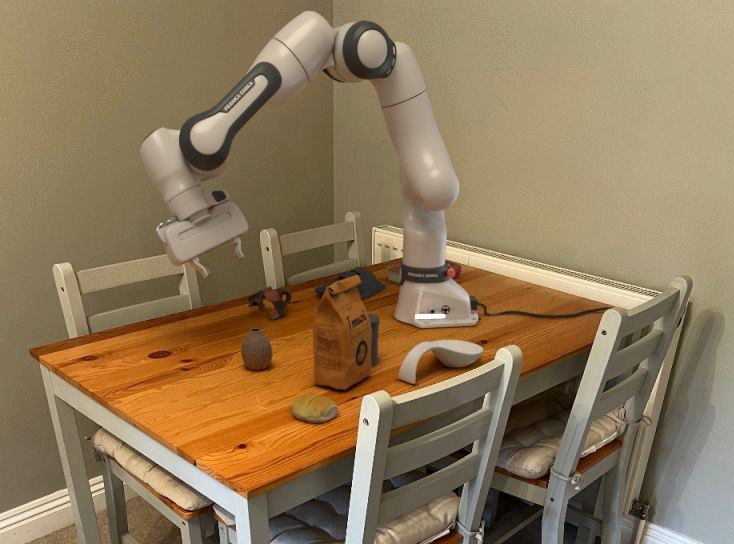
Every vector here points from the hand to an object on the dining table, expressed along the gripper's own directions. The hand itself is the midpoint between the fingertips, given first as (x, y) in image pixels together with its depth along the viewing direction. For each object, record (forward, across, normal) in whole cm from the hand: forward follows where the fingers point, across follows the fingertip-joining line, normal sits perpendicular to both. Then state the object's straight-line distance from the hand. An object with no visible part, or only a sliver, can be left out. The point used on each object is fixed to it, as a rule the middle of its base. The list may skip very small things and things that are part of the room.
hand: (224, 268), depth 165 cm
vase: (+22, -6, -1) cm, 23 cm away
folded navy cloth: (+19, +50, +28) cm, 60 cm away
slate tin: (+32, +13, -11) cm, 37 cm away
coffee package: (+33, +2, -17) cm, 37 cm away
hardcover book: (+28, +76, +25) cm, 84 cm away
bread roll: (+34, -14, -25) cm, 45 cm away
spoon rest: (+42, +22, -24) cm, 53 cm away
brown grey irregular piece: (+14, +20, +25) cm, 35 cm away
